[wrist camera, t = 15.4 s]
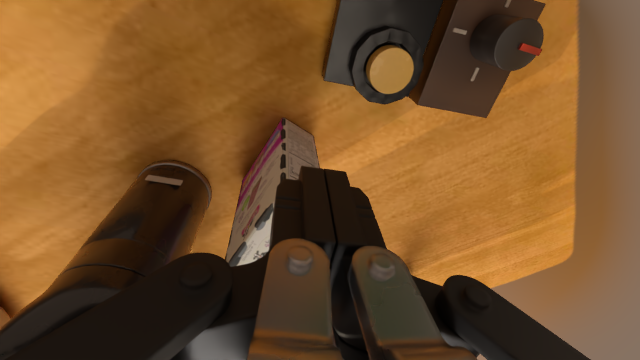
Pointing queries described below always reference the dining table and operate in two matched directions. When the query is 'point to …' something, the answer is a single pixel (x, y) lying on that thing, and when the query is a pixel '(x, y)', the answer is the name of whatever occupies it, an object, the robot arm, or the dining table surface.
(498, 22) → the dimmer knob
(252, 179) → the candy bar box
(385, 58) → the button
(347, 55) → the lamp base
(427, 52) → the dimmer panel
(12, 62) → the dining table surface
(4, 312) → the chamber pot
